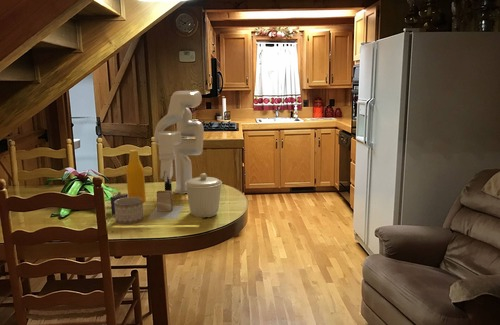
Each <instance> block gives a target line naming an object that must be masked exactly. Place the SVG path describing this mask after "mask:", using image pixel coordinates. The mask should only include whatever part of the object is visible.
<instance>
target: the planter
mask: <svg viewBox="0 0 500 325" xmlns="http://www.w3.org/2000/svg"><path fill="white" fill-rule="evenodd" d="M143 203H144V202H143V200H142V198H139V197H125V198H120V199H117V200H116V201H115V202H114V205H115V223H117V224H120V225H132V224H137V223H140V222H142V221H143V220H144V216H145V215H144V204H143Z"/></svg>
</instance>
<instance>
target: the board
mask: <svg viewBox="0 0 500 325" xmlns="http://www.w3.org/2000/svg"><path fill="white" fill-rule="evenodd" d="M183 209H184V205H173V210H172V212H158V209H157V206H156V207H155V208H154V209H153V210H152V212H151V213H150V215H148V217H147V219H148V220H162V219H164V220H167V219H168V220H169V219H172V220H175V219H176V220H177V219H178V217H179V215H180V214H181V212H182V210H183Z"/></svg>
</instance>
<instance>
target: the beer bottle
mask: <svg viewBox="0 0 500 325" xmlns="http://www.w3.org/2000/svg"><path fill="white" fill-rule="evenodd" d="M128 155H129V158H128V159H129V160H128V164H127V165H126V167H127V168H126V172H125V173H126V184H127V185H126V187H127V194H128V197H139V198H142V200H143V203H145V202H146V201H147V199H146V198H147V197H146V182H145V170H144V166H143V164H142V162H141V159H140V155H139V150H138V149H130V150H129V154H128Z"/></svg>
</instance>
